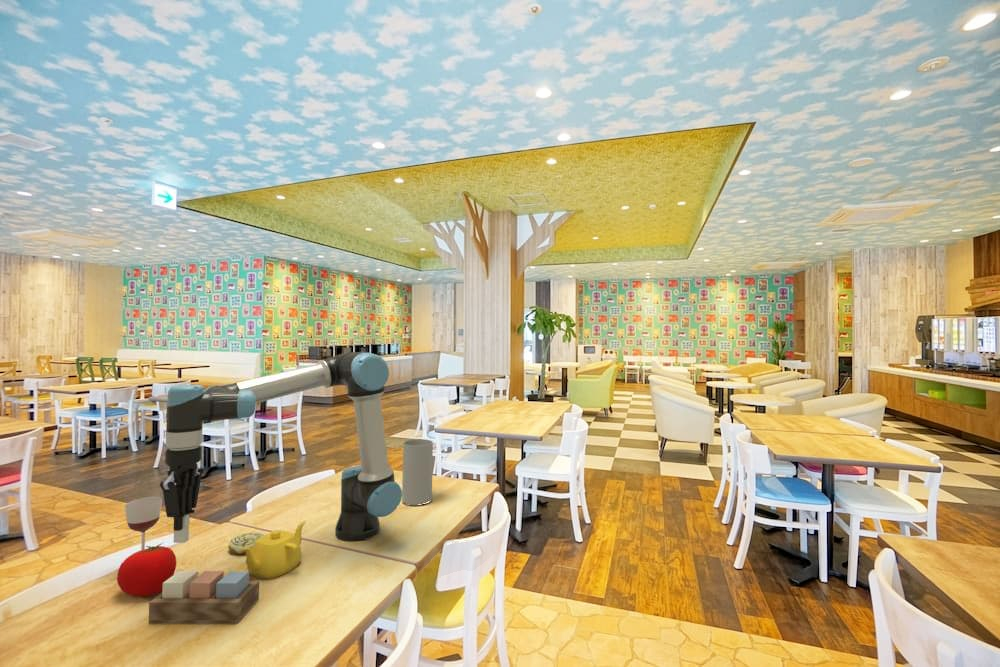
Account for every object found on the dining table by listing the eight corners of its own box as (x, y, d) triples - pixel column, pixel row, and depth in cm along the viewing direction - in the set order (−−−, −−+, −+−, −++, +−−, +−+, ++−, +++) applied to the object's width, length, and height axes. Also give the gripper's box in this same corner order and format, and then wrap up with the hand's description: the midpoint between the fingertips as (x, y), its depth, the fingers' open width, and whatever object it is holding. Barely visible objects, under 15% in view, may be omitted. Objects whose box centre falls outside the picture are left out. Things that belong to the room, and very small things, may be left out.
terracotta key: (223, 590, 116) (223, 571, 116) (209, 603, 110) (209, 583, 110) (204, 590, 116) (204, 571, 116) (189, 603, 110) (189, 583, 110)
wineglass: (167, 565, 135) (168, 498, 135) (135, 579, 127) (137, 508, 127) (148, 560, 138) (150, 495, 138) (116, 574, 129) (118, 504, 130)
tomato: (131, 611, 112) (132, 564, 113) (109, 593, 120) (110, 550, 120) (186, 588, 123) (187, 546, 123) (163, 573, 130) (164, 534, 130)
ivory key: (197, 590, 116) (198, 571, 116) (182, 603, 110) (182, 583, 110) (178, 590, 116) (179, 570, 116) (162, 603, 110) (162, 583, 110)
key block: (258, 599, 118) (259, 580, 118) (237, 623, 108) (237, 602, 108) (177, 599, 118) (178, 580, 118) (148, 623, 108) (149, 602, 108)
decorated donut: (238, 560, 139) (238, 548, 139) (222, 550, 145) (222, 538, 145) (271, 547, 148) (271, 536, 148) (255, 538, 154) (255, 527, 154)
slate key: (248, 590, 116) (249, 571, 116) (235, 603, 110) (236, 583, 110) (229, 590, 116) (230, 571, 116) (216, 603, 110) (216, 583, 110)
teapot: (262, 594, 121) (263, 553, 121) (225, 580, 127) (225, 542, 127) (325, 558, 141) (326, 523, 141) (290, 548, 147) (291, 515, 147)
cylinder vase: (429, 506, 185) (430, 446, 186) (398, 506, 185) (400, 445, 186) (434, 496, 198) (434, 439, 198) (405, 495, 198) (406, 438, 198)
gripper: (186, 441, 120) (183, 530, 119) (149, 453, 107) (145, 553, 106) (214, 441, 120) (212, 530, 119) (181, 453, 107) (178, 553, 106)
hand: (181, 541), depth 113 cm, fingers closed
